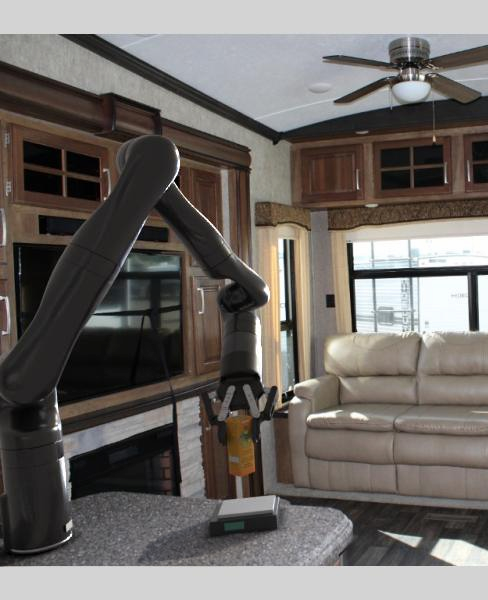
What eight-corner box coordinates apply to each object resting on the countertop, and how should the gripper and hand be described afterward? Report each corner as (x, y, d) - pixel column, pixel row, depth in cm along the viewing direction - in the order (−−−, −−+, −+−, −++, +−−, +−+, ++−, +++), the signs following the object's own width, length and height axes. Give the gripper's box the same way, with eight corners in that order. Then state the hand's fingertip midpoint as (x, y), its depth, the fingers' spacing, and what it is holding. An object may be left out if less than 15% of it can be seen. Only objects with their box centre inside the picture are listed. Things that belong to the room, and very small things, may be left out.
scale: (210, 536, 111) (208, 519, 111) (218, 516, 120) (216, 500, 120) (277, 529, 113) (276, 511, 113) (280, 509, 122) (278, 493, 122)
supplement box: (242, 477, 114) (236, 419, 113) (229, 474, 116) (223, 418, 115) (257, 471, 117) (252, 415, 116) (244, 469, 119) (239, 413, 118)
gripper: (198, 352, 121) (192, 435, 110) (278, 346, 123) (279, 426, 112) (205, 376, 127) (200, 457, 116) (281, 370, 129) (283, 449, 118)
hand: (239, 441), depth 114 cm, fingers closed on supplement box, 4 cm apart
